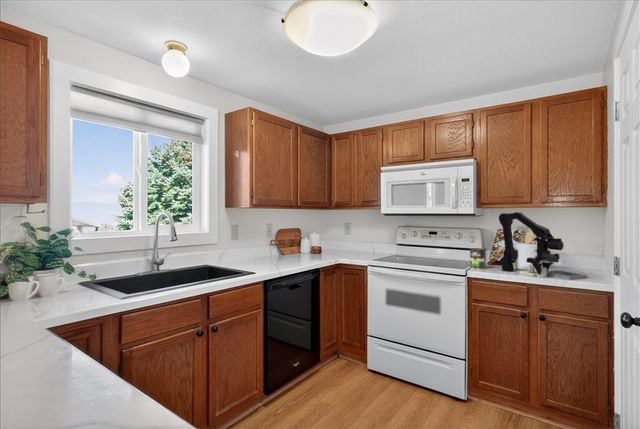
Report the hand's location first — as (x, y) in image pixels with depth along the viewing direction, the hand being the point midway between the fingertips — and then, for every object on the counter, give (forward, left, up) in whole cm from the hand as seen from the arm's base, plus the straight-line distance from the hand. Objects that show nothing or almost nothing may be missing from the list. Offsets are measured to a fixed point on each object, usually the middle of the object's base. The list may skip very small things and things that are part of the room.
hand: (542, 274), depth 199 cm
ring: (-5, 0, -2) cm, 5 cm away
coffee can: (-40, -12, -3) cm, 42 cm away
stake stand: (-7, 0, -2) cm, 7 cm away
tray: (+3, +13, -2) cm, 14 cm away
